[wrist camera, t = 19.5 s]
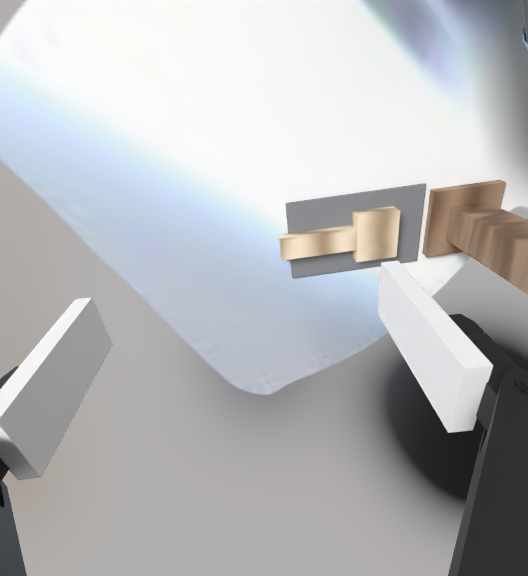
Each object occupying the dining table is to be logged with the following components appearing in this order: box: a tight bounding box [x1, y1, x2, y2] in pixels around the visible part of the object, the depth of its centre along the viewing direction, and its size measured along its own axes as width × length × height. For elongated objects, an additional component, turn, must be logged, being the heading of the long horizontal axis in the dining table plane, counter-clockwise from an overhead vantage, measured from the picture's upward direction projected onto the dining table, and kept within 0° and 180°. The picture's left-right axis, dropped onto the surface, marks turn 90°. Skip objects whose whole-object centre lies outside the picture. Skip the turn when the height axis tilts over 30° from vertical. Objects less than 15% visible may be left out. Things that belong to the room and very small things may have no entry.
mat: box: [286, 184, 426, 278], centre depth 50 cm, size 20×12×1 cm, turn 97°
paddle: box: [279, 206, 400, 262], centre depth 49 cm, size 17×7×2 cm, turn 97°
